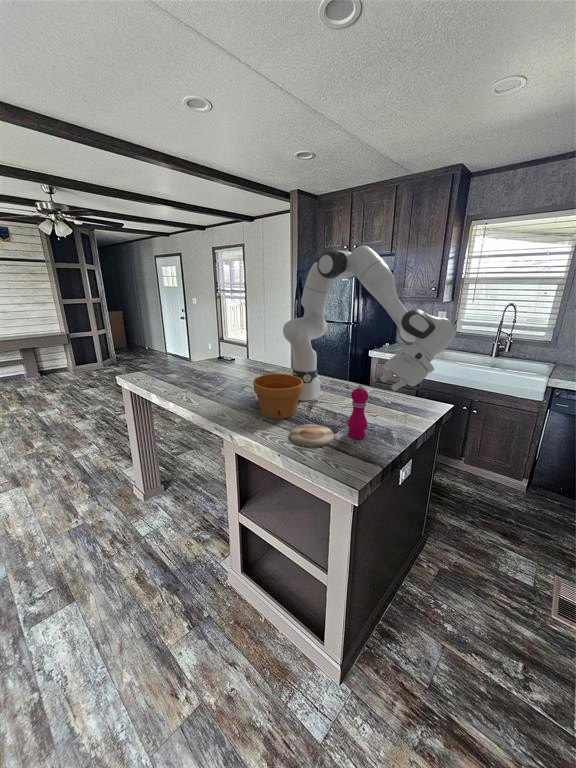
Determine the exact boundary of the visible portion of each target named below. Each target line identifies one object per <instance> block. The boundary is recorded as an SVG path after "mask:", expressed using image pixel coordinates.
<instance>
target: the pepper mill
mask: <svg viewBox="0 0 576 768" xmlns="http://www.w3.org/2000/svg"><path fill="white" fill-rule="evenodd" d="M350 396H351V399H352V401H351V402H352V403H351V405H352V412H351V414H350V416H349V418H348V421H347V427H348V432H347V433H348V436H349V437H350V438H352V439H355V440H356V439H357V440H360V439H364V438H365V437H366V430H367V428H368V420H367V417H366V415H365V407H367V401H368V399H369V392H368V391H367V389H365V388H364V387H363V385H362V384H358V385H357V387H356V388H355V389H353V390H352V392H351V395H350Z"/></svg>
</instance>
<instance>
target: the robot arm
mask: <svg viewBox="0 0 576 768" xmlns="http://www.w3.org/2000/svg"><path fill="white" fill-rule="evenodd" d="M353 278H357V279H358V281H359V282H360V283H361V285H362V286H363V287H364V289H365V290H366V291H367V292H369V294H371V295H372V296H373V298H374V299H375V300H376V301H378V303H379V305H381V306H382V307H383V309H384V310H385V311H386V312H387V314H388V315H389V317H390V318H391V320H392V322H394V323H395V326H396V327H397V332H398V336H399V338H400V340H401V342H402V343H404V344H405V345H408V348H407V349H406V350H404V351H403V352H400V353H396V354H395V355H393V356H392V357H390V359H388V360H387V361H386V362H385V363H384V364H383V365H384V366H383V367H384V368H385V371H384V373H383V374H382V376H381V377H380V381H381V382H382V383H386V382H387V381H388V379H389V377H390V376H392V375H394V376H395V377H397V378H398V379H399V381H398V382H396V383H393V384H391V387H390V388H392V390H393V391H398V390H399V389H400V388H402V387H406V385H407V384H408V385H409V386H410V387H415V386H418V385H419V384H421V382H422V381H423V380H424V379H426V377H427V376H428V375H429V374H432V372H433V371H434V370H435V367H434V365H433V364H432V361H433V360H434V359H435V358H436V356H437V355H439V354H440V353H442V352H444V350H445V349H446V348H447V347H448V346H449V345H450V344H451V343H452V342H453V340H454V339H455V338H456V335H457V329H456V327H455V324H453V322H452V321H451V319H448V318H446V317H438V316H434V315H432V314H428V313H427V312H425V311H424V310H421V309H417V308H415V309H411V310H407V308H406V307H405V306H404V304H403V302H401V300H400V299H399V296H398V294H397V288H396V281H395V276H394V273H393V272H392V270H391V268H390V267H389V266H388V263H386V261H385V260H384V259H383V258H382V257H381V256H380V255H379V254H378V253H377V252H376V251H375V250H374V249H372V248H371V247H369V246H368V245H359V246H358V247H356V248H354V250H353V251H349V250H341V249H340V250H335V249H330V250H326V251H324V252H322V253H321V254H320V255H319V257H318V259H317V262H314V263H313V264H312V266H311V267H310V269H309V272H308V275H307V278H306V281H305V283H304V286H303V287H304V288H303V291H302V295H301V299H300V304H301V306H302V307H303V309H304V314H303V316H302V317H296V318H293V319H290V320H288V321H287V322H285V323H284V325H283V330H282V332H283V337H284V338H285V339H286V341H287V342H288V343H289V344H290V346H291V349H292V353H293V368H292V375H293V376H296V377H299V378H301V379H302V380H303V389H302V392H301V394H300V395H299V399H298V401H302V402H303V401H305V402H307V401H313V400H317V399H318V398H320V397H322V396H323V397H324V392H322V391H321V380H320V378H318V368H317V363H318V362H317V361H318V360H317V357H318V355H317V351H316V350H314V349H313V347H312V343H311V342H312V341H313V340H317V339H319V338H321V337H323V336H324V335H325V334H326V332H327V331H328V324H327V321H326V319H325V310H326V305H327V301H328V297H329V293H330V290H331V286H332V283H333V281H335V280H337V281H338V280H344V279H345V280H348V279H353ZM311 340H312V341H311Z"/></svg>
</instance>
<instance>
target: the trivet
mask: <svg viewBox="0 0 576 768" xmlns="http://www.w3.org/2000/svg"><path fill="white" fill-rule="evenodd" d="M289 433H290V434H289V435H290V436H291V437H290V440H291V439H292V440H293V441H294V442H293V441H292V440H291V441H292V442H293V443H295V442H296V443H298V444H300V445H299V446H301V445H304V446H303V447H305V446H309V447H308V448H320V446H322V447H325V446H327V445H330V444H332V442H333V441H334V437H335V436H334V432H333V431H332V429H330V428H329V427H326V426H324V425H320V424H310V423H309V424H308V423H307V424H300V425H298V426H296V427H294V428H293V429H292V430H291V431H290V432H289ZM296 443H295V444H296ZM298 444H297V445H298Z"/></svg>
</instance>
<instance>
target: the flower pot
mask: <svg viewBox="0 0 576 768" xmlns="http://www.w3.org/2000/svg"><path fill="white" fill-rule="evenodd" d="M252 382H253V391H254V394H256V397H257V400H258V403H259V408H260V412H261V414H262V415H263V417H266V418H269V419H272V418H273V420H281V419H283V420H284V419H287V418H290V417H292V416H294V414H295V413H296V409H297V405H298V402H299V400H298V399H299V395H300V394H301V392H302V389H303V380H302V379H301V378H299V377H296V376H293V374H284V373H270V374H269V373H267V374H264V375H260V376H257V377H255V378H254V379H253V381H252Z"/></svg>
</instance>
